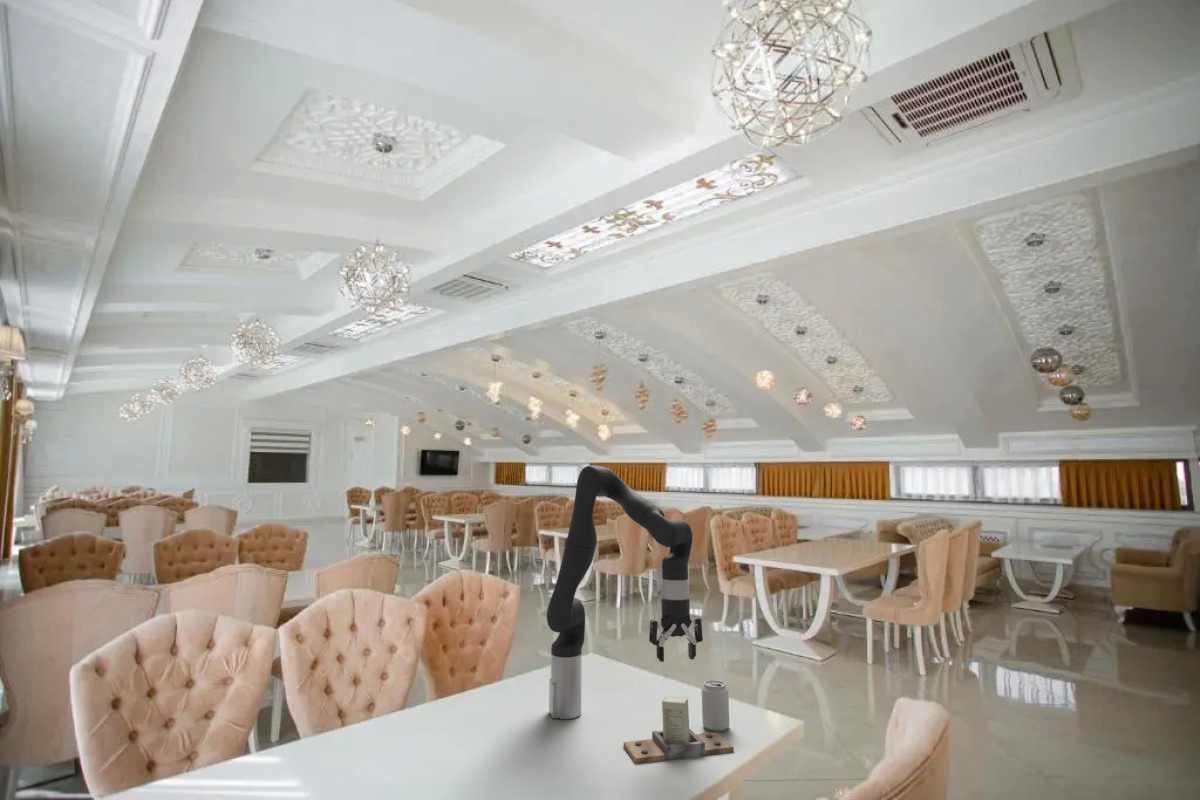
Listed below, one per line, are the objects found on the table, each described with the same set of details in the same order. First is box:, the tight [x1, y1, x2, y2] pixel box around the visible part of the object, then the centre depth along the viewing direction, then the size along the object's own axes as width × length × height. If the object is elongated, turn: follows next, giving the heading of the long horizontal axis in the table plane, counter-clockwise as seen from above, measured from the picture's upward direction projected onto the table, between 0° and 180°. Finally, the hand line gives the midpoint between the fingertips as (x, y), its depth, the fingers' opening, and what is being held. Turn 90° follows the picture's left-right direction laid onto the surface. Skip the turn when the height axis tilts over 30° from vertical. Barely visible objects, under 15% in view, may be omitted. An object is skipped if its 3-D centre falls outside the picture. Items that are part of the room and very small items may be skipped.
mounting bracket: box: [623, 728, 735, 764], centre depth 154 cm, size 26×10×3 cm, turn 105°
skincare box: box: [661, 696, 690, 745], centre depth 155 cm, size 6×4×12 cm
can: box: [701, 679, 730, 733], centre depth 169 cm, size 8×8×12 cm
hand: (676, 659), depth 157 cm, fingers open, 8 cm apart
